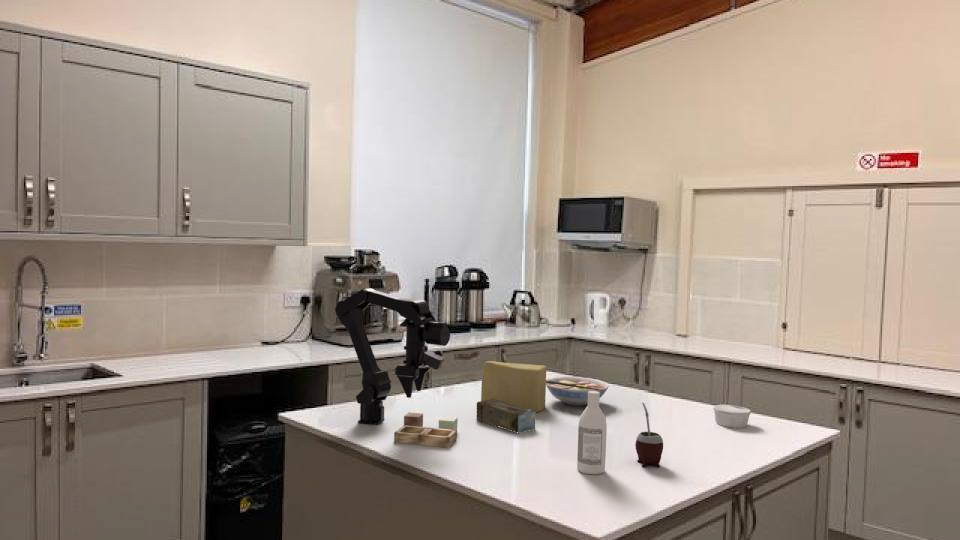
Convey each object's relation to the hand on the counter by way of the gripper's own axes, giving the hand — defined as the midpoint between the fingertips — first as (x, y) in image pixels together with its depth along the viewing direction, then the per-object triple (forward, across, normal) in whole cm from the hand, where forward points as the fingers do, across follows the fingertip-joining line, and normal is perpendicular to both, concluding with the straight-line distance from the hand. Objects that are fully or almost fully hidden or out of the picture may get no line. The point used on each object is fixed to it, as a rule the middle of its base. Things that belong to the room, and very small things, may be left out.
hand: (414, 394), depth 207 cm
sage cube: (+11, -1, -11) cm, 15 cm away
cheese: (+11, +38, -23) cm, 46 cm away
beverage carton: (+11, +14, -25) cm, 31 cm away
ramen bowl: (+11, +50, -44) cm, 67 cm away
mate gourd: (+10, -11, -68) cm, 70 cm away
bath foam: (+10, -21, -54) cm, 59 cm away
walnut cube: (+11, 0, 0) cm, 11 cm away
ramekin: (+10, +39, -95) cm, 103 cm away
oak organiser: (+10, -10, -7) cm, 16 cm away
